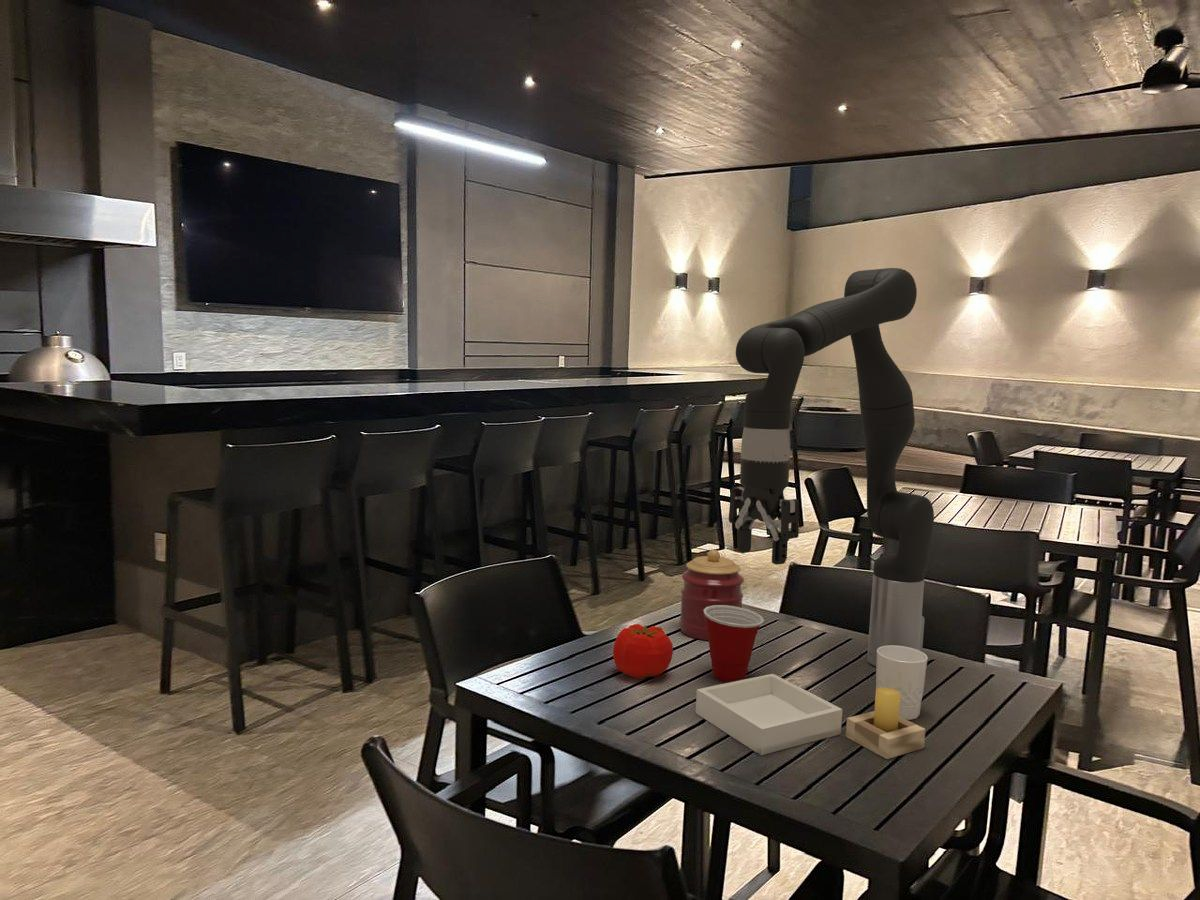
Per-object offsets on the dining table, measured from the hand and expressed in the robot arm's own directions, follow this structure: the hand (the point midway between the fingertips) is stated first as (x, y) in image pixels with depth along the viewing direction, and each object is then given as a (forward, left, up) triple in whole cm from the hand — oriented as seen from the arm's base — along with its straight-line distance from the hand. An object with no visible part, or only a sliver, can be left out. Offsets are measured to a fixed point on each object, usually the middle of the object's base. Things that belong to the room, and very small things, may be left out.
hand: (760, 557), depth 132 cm
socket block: (-12, +17, -26) cm, 33 cm away
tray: (0, +4, -26) cm, 26 cm away
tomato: (+7, -22, -26) cm, 35 cm away
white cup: (-23, +10, -26) cm, 36 cm away
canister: (-19, -36, -26) cm, 49 cm away
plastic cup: (-7, -14, -26) cm, 31 cm away
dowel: (-12, +17, -26) cm, 33 cm away
